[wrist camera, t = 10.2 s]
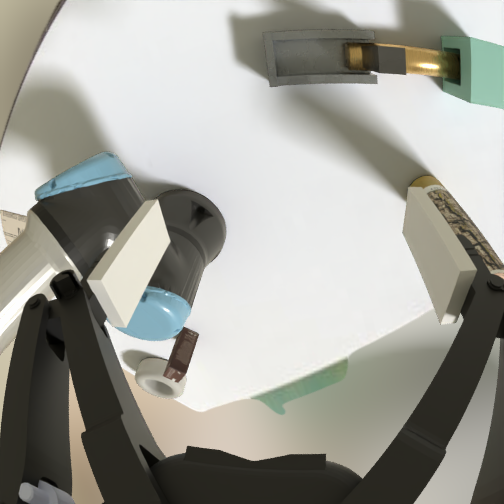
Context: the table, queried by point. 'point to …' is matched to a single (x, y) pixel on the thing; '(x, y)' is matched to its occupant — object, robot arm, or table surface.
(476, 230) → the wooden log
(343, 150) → the table surface
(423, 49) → the brass sliding bolt
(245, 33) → the table surface
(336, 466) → the robot arm
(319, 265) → the table surface
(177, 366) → the box
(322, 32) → the grey bracket
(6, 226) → the newspaper
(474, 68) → the socket block
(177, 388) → the donut shape
